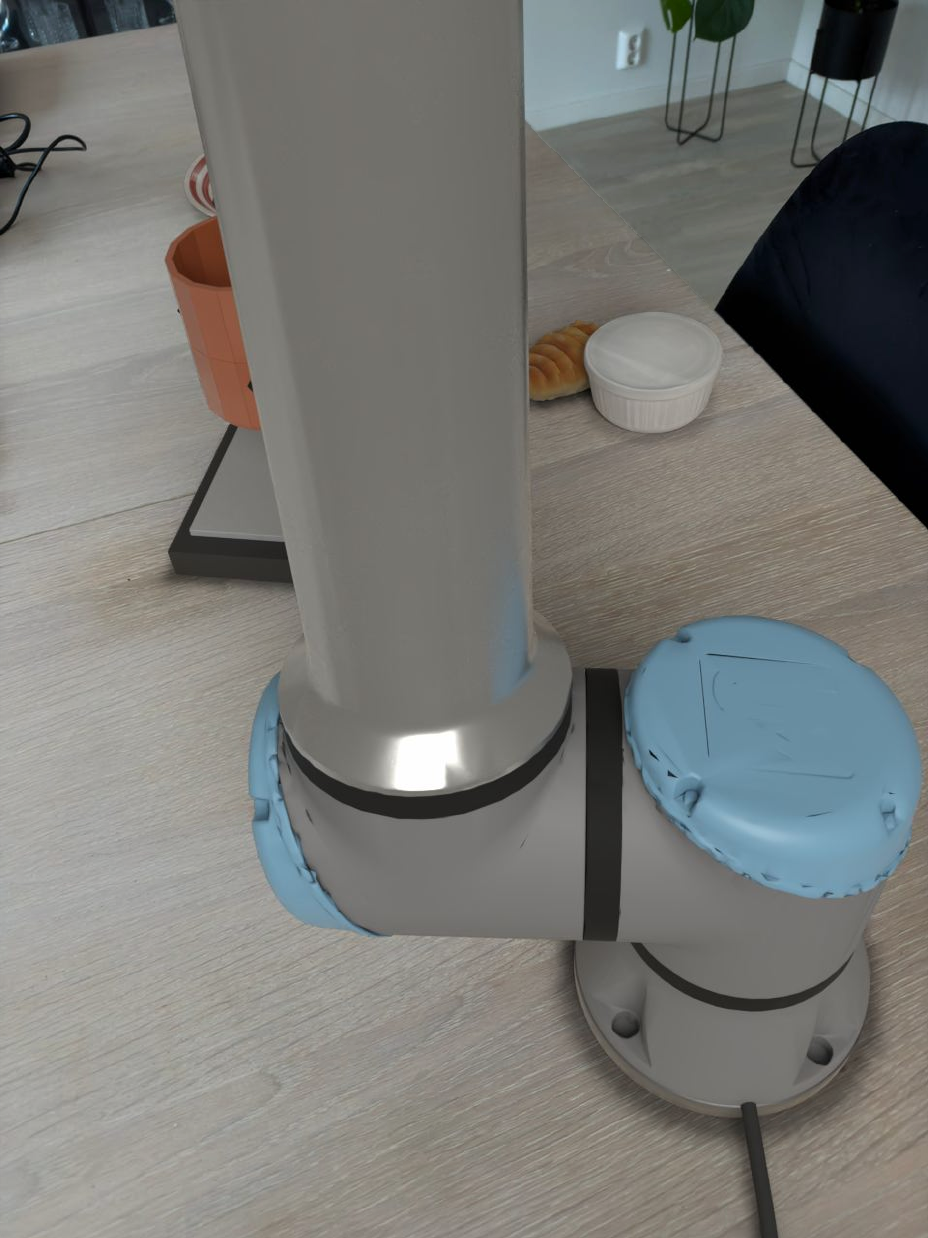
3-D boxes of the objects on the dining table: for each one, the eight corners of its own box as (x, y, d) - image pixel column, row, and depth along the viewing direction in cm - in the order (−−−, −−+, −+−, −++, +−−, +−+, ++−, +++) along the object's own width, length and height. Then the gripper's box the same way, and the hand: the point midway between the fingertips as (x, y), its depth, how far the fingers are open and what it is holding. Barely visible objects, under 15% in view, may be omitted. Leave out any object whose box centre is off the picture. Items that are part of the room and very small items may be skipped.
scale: (383, 590, 80) (378, 561, 77) (175, 574, 82) (165, 545, 80) (423, 450, 90) (420, 421, 88) (238, 439, 93) (230, 411, 90)
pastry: (541, 418, 92) (540, 381, 89) (491, 382, 95) (489, 346, 93) (623, 374, 95) (625, 336, 92) (572, 341, 99) (572, 304, 96)
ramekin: (578, 440, 90) (579, 387, 86) (587, 361, 97) (588, 308, 93) (717, 446, 88) (724, 392, 84) (715, 365, 95) (722, 312, 92)
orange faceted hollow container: (264, 454, 73) (227, 309, 65) (178, 393, 78) (134, 252, 70) (379, 385, 77) (358, 241, 69) (291, 331, 82) (262, 192, 74)
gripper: (548, 141, 63) (352, 457, 70) (352, 29, 77) (203, 304, 83) (467, 71, 58) (262, 423, 64) (270, -36, 71) (117, 264, 77)
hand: (228, 356), depth 74 cm, fingers closed on orange faceted hollow container, 10 cm apart
